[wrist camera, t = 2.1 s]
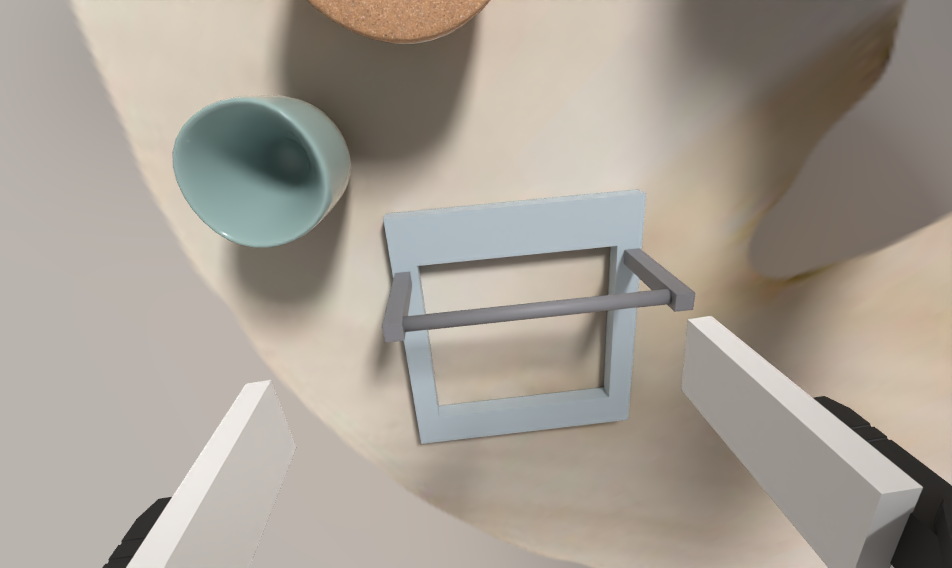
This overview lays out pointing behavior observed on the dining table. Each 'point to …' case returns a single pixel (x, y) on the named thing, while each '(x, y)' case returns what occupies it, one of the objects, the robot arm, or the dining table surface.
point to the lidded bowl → (400, 17)
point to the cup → (261, 168)
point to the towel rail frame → (514, 235)
